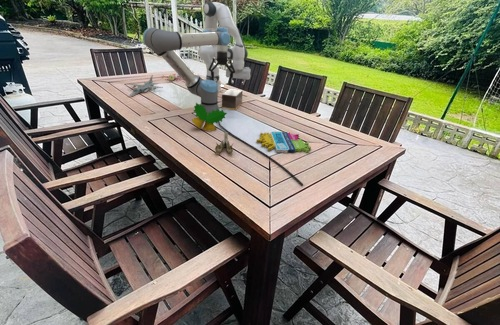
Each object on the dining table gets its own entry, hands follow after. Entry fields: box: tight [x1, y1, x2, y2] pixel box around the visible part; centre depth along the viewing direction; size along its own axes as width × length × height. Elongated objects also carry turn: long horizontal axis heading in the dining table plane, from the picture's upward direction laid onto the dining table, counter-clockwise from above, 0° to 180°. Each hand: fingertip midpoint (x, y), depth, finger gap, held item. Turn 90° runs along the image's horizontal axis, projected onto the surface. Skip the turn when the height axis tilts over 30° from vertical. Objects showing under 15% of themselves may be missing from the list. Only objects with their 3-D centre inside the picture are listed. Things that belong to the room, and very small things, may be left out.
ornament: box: [191, 102, 228, 132], centre depth 162 cm, size 21×8×15 cm, turn 105°
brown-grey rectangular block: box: [221, 88, 243, 111], centre depth 207 cm, size 19×11×11 cm, turn 167°
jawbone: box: [214, 131, 234, 156], centre depth 136 cm, size 9×15×10 cm
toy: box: [161, 73, 184, 82], centre depth 279 cm, size 28×7×30 cm
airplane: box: [127, 74, 164, 98], centre depth 227 cm, size 38×31×10 cm
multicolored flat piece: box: [256, 131, 312, 154], centre depth 152 cm, size 26×2×30 cm
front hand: (221, 81), depth 199 cm, fingers open, 13 cm apart
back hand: (237, 83), depth 216 cm, fingers open, 8 cm apart
